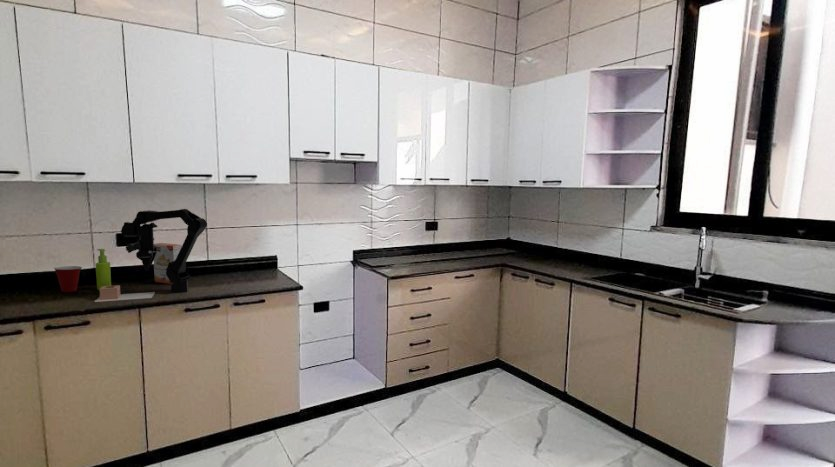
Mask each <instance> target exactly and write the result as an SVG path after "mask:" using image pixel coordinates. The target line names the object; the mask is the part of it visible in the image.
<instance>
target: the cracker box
mask: <svg viewBox="0 0 835 467" xmlns="http://www.w3.org/2000/svg"><path fill="white" fill-rule="evenodd" d="M154 245H155V246H157V251H156V252H157V253H156V255H155V258H154V260H153V270H154V271H153V272H154V282H155V283H162V284H166V285H167V284H168V285H172V283H170V280H169V278H168V277H167V275H166V271H167V270H165V269H166V268H167V267H168V264H169V262H172V261H175V260H176V258H177V256H178V254H179V251H180V249H181V247H182V244H178V243H167V242H158V243H154ZM153 252H155V251H153Z"/></svg>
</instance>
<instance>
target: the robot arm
mask: <svg viewBox="0 0 835 467" xmlns="http://www.w3.org/2000/svg"><path fill="white" fill-rule="evenodd" d="M176 218H180V219H181V220H182V221H183V223H184V224H185V225H187V228H186V229H187V230H186V231H187V235H186V236H185V239H184V241H183V243H182V244H181V246H182V247H181V249H180V251H179V254H178V256H177V258H176V260H175V261H172V262H169V264H168V267H167V268H166V269H165V270H167V271H166V275H167V277H168V278H169V280H170V283H172V284H170V290H171V294H182V293H188V291H189V290H188V288H189V283H188V280H189V279H190V278H191V275H190V274H189V273H188V272H187V271H186V268H187V261H188V258H189V256H190V255H191V252H192V250H193V248H194V246H195V244H196V242H197V240H198V237H199V236H201V234H203V232H204V231H205V229H206V228H207V227H208V222H207V220H206V219H205V218H202V217H200V216H199V215H197V214H195V213H194V212H192V211H190V210H189V209H188V208H180V209H174V210H163V211H156V210H142V211H137V213H136V216H135V218H134V219H133V221H131V222H129V221H127V222H126V221H125V222H123V225H122V227H121V230H120V232H121V235H122V236H123V237H135V238H137V237H139V239H138V240H137V242H134V243H131V242H130V243H128V244H127V245H126V246H125V250H126V251H127V253H128V254H130V253H132V252H134V251H137V252H136V253H135V257H136V258H137V259H139V260H140V261H141V264H142V266H143V269H144V271H149V268H151V267H152V265H153V264H154V258H155V255H156V253H157V252H156V251H157V246H155V245H154V244H155V237H154V228H158V227H159V226H158V225H157V224H156V223H155V222H156V221H159V220H166V219H176ZM153 251H155V252H153Z"/></svg>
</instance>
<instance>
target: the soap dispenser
mask: <svg viewBox="0 0 835 467" xmlns="http://www.w3.org/2000/svg"><path fill="white" fill-rule="evenodd" d="M96 250H97V251H99V255H98V257H97V259H98V262H96V263H95V275H96V276H95V277H96V290H97V291H100V288H101V287H103V286H112V277H111V276H112V275H111V273H112V272H111V262H110V261H108V257H107V255H105V251H106V249H105V248H97V249H96Z"/></svg>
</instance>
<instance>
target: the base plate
mask: <svg viewBox="0 0 835 467" xmlns="http://www.w3.org/2000/svg"><path fill="white" fill-rule="evenodd" d="M155 293H156V292H155V291H152V292H150V291H149V292H139V293H138V292H137V293H136V292H135V293H134V292H133V293H122V294H121V293H120V295H121V296H120V297H119V298H118V299H108V300H100V296H99V297H97V299H95V300H94V303H99V302H101V303H102V302H113V301H125V300H141V299H152V298H153V296H154V295H155Z"/></svg>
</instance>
